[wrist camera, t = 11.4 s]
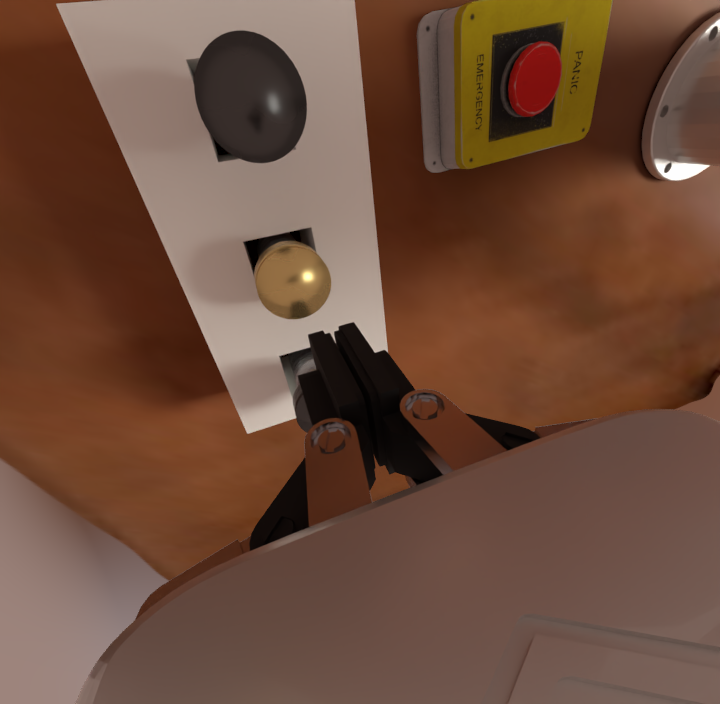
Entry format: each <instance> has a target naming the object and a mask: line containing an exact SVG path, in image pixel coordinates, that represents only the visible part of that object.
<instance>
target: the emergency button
mask: <svg viewBox="0 0 720 704" xmlns="http://www.w3.org/2000/svg"><path fill="white" fill-rule="evenodd" d="M612 3H613V0H480V1H474V2H470V3H466V4H464V5H462V6H459V7H456V8H450V9H444V10H438V11H433V12H431V13H429V14H427V15H425V16H423V18H422V19H421V21H420V23H419V24H418V30H417V48H418V65H419V83H420V100H421V118H422V136H423V153H424V164H425V167H426V169H427V170H429V171H430V172H432V173H439V172H443V171H447V170H451V169H472V168H476V167H480V166H484V165H487V164H491V163H495V162H499V161H503V160H507V159H510V158H514V157H518V156H522V155H526V154H530V153H533V152H537V151H541V150H545V149H549V148H552V147H556V146H560V145H564V144H568V143H572V142H575V141H579V140H581V139H583V138H584V137H585V136H586V134H587V133H588V131H589V128H590V125H591V120H592V114H593V108H594V103H595V97H596V92H597V86H598V81H599V75H600V70H601V64H602V58H603V53H604V47H605V42H606V36H607V31H608V25H609V20H610V14H611V8H612Z"/></svg>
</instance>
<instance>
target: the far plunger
mask: <svg viewBox="0 0 720 704" xmlns="http://www.w3.org/2000/svg"><path fill="white" fill-rule="evenodd" d="M289 361H290V364H291V368H292V371H293V374H294V378H295V381H296V384H297V388H296V390H295V392H294V395H293V407H294V411H295V415H296V418H297V422H298V424H299V426H300V427H301V428H302V429H303V430H304V431H305V432H307V433H308V431H309V430H310V429H311V428H312V424H311V421H310V417H309V414H308V411H307V407H306V404H305V401H304V397H303V394H302V390H301V387H300V383H299V380H298V375H301V374H304V373H308V372H311V371H315V370H316V367H315V363H314V359H313V355H312V351H311V347H309V348H306V349H302V350H299V351H295V352H292V353H289Z"/></svg>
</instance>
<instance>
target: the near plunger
mask: <svg viewBox="0 0 720 704" xmlns="http://www.w3.org/2000/svg"><path fill="white" fill-rule="evenodd" d="M194 91H195V99H196V104H197V107H198V111H199V113H200V116H201V119H202V121H203V123H204V125H205V127H206V128H207V130H208V131H209V133H210V134H211V136H212V137H213V138H214V139H215V141H216V142H217V143H218V144H219V145H220V146H221V147H222V148H224V149H225V150H226V151H227V152H229V153H230V154H232V155H233V156H235V157H237V158H239V159H241V160H244V161H248V162H252V163H269V162H273V161H276V160H278V159H281V158H282V157H284V156H285V155H287V154H288V153H289V152H290V151H291V150H292V149H293V148H294V147H295V146H296V144H297V143H298V141H299V140H300V137H301V135H302V133H303V130H304V127H305V123H306V116H307V101H306V94H305V89H304V85H303V82H302V79H301V77H300V75H299V73H298V70H297V69H296V67H295V65H294V63H293V62H292V61H291V59H290V58H289V56H288V55H287V54H286V53H285V52H284V51H283V50H282V49H281V48H280V47H279V46H278V45H277V44H276V43H274V42H273V41H271V40H270V39H268V38H267V37H265V36H263V35H260V34H258V33H255V32H251V31H244V30H240V31H231V32H227V33H225V34H222V35H220V36H219V37H217V38H215V39H214V40H213V41H212V42H211V43H210V44H209V45H208V46H207V47H206V48H205V50H204V51H203V53H202V55H201V56H200V59H199V61H198V64H197V67H196V72H195V80H194Z"/></svg>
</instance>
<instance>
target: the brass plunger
mask: <svg viewBox="0 0 720 704" xmlns="http://www.w3.org/2000/svg"><path fill="white" fill-rule="evenodd" d="M257 253H258V256H259V259H258V261H257V263H256V266H255V271H254V278H255V284H256V288H257V292H258V296H259V298H260V300H261V302H262V304H263V305H264V306H265V308H266V309H267V310H269V311H270V312H271V313H273V314H274V315H276V316H279V317H281V318H285V319H301V318H305V317H308V316H310V315H312V314H314V313H315V312H316V311H318V310H319V309H320V308H321V307H322V306H323V305H324V303H325V302H326V300H327V299H328V296H329V294H330V290H331V276H330V272H329V270H328V267H327V266H326V264H325V263H324V261H323V260H322V259H321V258H320V256H319V255H318V254H317V253H316V252H315V251H314V250H313V249H312V248H311V247H310V246H308V245H306V244H304V243H301V242H297V241H296V240H295V239H294V237H293V236H292V235H291V234H290V233H288V232H286V233H282V234H277V235H272V236H268V237H263V238H260V239H259V241H258V245H257Z"/></svg>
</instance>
